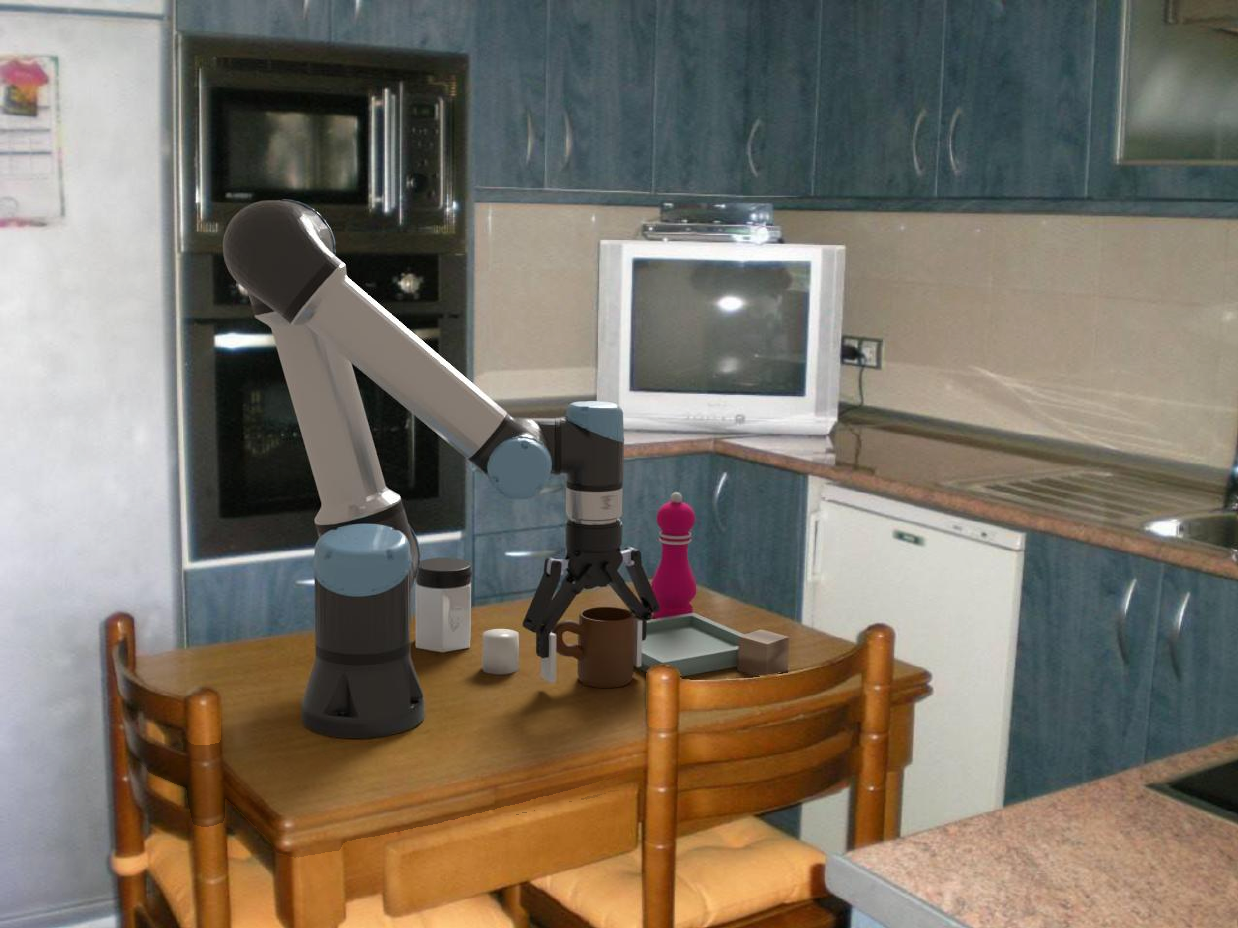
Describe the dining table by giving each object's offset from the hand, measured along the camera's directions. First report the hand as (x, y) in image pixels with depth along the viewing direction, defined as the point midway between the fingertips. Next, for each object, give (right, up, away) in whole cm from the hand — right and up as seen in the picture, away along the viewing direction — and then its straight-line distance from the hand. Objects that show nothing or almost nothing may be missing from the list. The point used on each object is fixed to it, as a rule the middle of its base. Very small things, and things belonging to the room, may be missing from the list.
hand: (591, 671), depth 195 cm
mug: (0, -2, 0) cm, 2 cm away
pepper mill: (+12, +4, +33) cm, 35 cm away
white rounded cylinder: (-13, 0, +5) cm, 14 cm away
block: (+24, -1, +7) cm, 25 cm away
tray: (+12, +1, +14) cm, 19 cm away
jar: (-22, +2, +16) cm, 27 cm away
